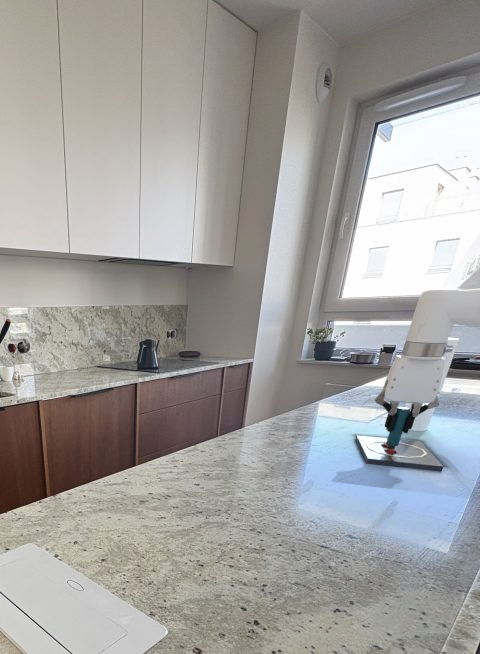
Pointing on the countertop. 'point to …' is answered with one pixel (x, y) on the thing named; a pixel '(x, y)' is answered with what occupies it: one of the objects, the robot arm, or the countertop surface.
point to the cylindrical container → (425, 417)
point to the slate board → (398, 454)
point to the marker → (398, 427)
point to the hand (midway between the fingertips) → (396, 430)
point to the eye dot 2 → (390, 451)
